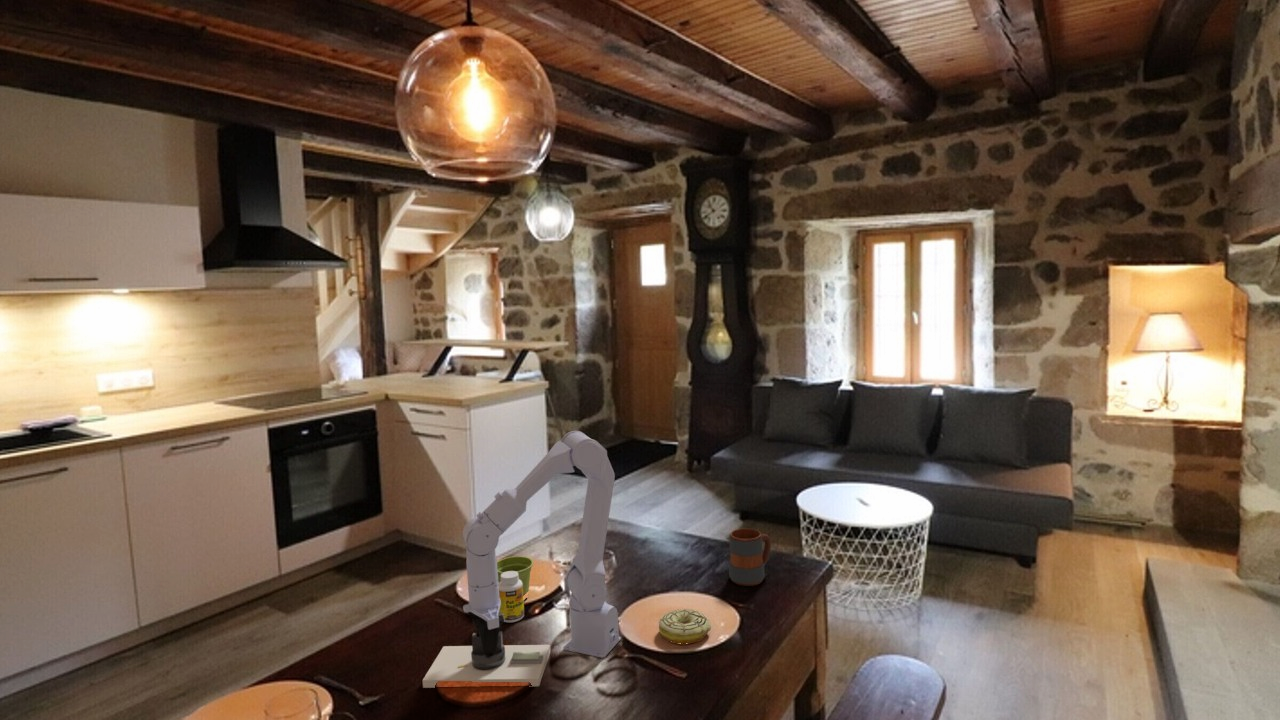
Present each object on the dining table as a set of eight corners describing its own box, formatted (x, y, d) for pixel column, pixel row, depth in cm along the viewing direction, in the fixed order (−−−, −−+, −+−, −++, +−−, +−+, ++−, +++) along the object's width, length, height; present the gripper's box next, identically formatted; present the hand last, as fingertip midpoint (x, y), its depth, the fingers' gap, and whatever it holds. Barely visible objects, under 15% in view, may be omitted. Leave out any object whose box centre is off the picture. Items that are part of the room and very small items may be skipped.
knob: (507, 651, 137) (505, 624, 137) (502, 668, 131) (500, 640, 130) (475, 652, 137) (473, 626, 136) (468, 671, 131) (466, 642, 130)
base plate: (550, 651, 140) (549, 635, 139) (539, 686, 128) (538, 668, 127) (444, 653, 141) (442, 637, 140) (423, 687, 129) (421, 670, 128)
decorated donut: (720, 633, 144) (720, 616, 144) (684, 653, 137) (684, 635, 137) (685, 616, 152) (684, 600, 152) (649, 634, 145) (649, 617, 144)
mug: (782, 577, 169) (781, 531, 168) (744, 590, 163) (743, 543, 162) (759, 565, 177) (758, 522, 175) (722, 577, 171) (720, 532, 169)
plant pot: (527, 608, 159) (525, 572, 158) (489, 607, 160) (486, 571, 159) (540, 590, 168) (538, 556, 167) (503, 589, 169) (501, 555, 168)
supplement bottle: (505, 626, 151) (502, 581, 150) (495, 616, 155) (492, 573, 154) (528, 618, 154) (525, 575, 153) (518, 609, 158) (515, 567, 157)
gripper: (455, 571, 137) (459, 636, 138) (469, 600, 124) (475, 671, 125) (490, 564, 140) (494, 627, 141) (508, 592, 127) (512, 661, 128)
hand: (487, 647), depth 134 cm, fingers closed on knob, 3 cm apart
